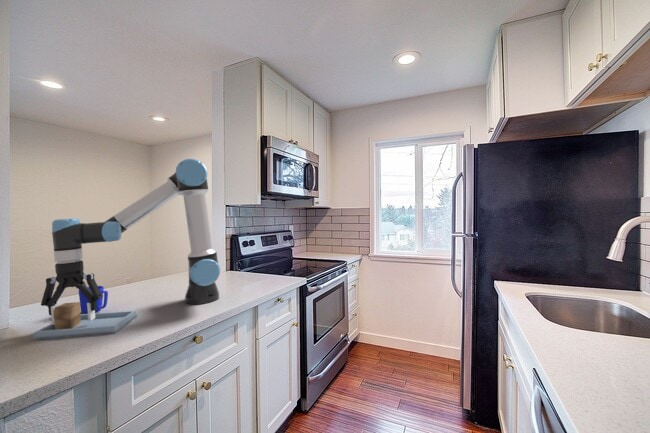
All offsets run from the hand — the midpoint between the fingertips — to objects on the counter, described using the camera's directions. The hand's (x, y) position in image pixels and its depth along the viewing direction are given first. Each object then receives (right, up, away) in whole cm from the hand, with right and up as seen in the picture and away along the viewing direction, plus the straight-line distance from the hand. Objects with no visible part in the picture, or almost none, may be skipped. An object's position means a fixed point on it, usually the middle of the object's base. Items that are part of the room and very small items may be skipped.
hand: (74, 321), depth 101 cm
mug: (-6, -3, +17) cm, 18 cm away
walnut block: (-2, -2, 0) cm, 3 cm away
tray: (+5, -2, +1) cm, 6 cm away
